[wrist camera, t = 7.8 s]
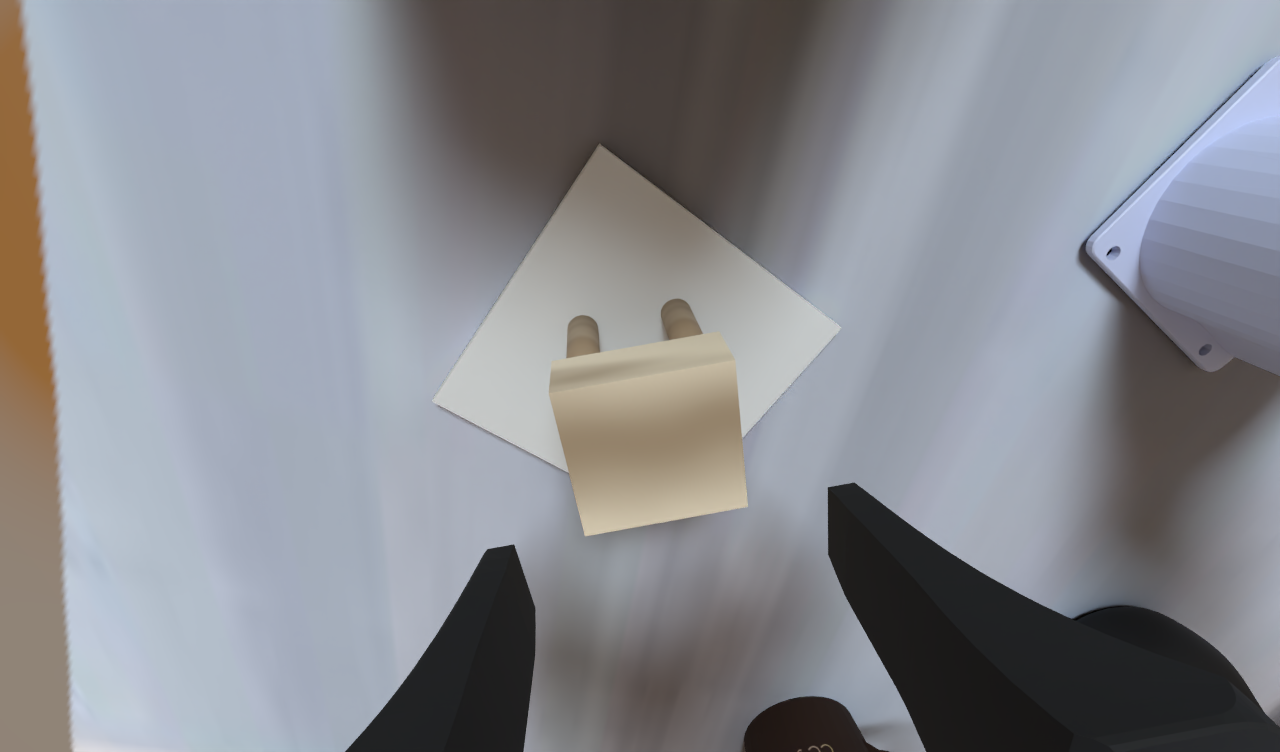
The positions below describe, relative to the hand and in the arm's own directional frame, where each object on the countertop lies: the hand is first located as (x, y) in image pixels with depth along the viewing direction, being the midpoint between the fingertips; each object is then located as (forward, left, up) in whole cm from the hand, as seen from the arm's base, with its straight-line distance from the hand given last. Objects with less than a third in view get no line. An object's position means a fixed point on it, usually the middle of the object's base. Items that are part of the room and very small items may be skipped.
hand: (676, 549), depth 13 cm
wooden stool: (0, 0, -10) cm, 10 cm away
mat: (0, 0, -10) cm, 10 cm away
